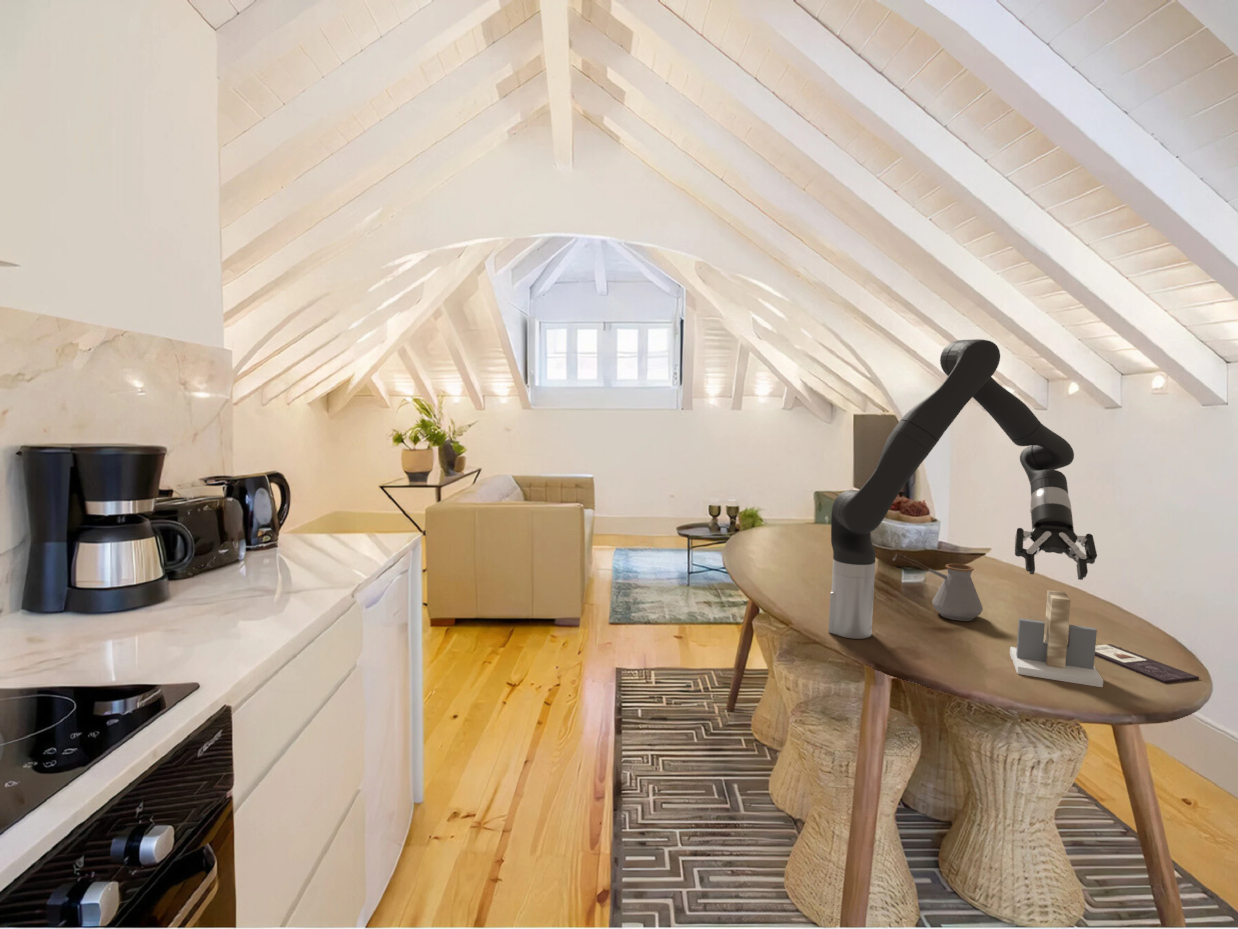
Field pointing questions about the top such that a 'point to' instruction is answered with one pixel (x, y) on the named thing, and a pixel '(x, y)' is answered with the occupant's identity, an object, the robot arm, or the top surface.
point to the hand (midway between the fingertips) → (1056, 575)
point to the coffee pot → (954, 592)
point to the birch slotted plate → (1056, 628)
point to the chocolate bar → (1142, 664)
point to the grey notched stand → (1078, 654)
